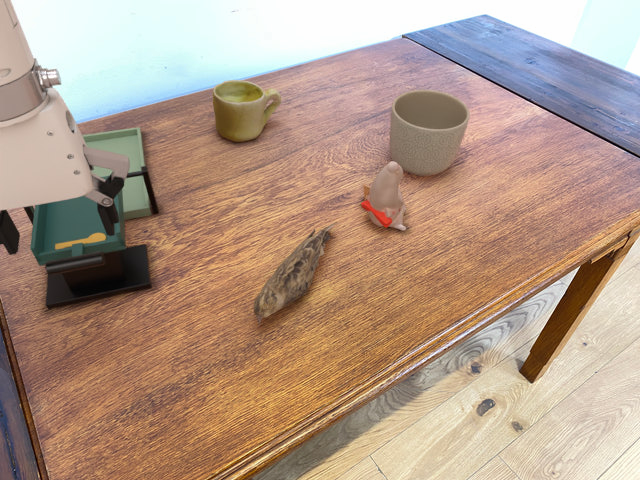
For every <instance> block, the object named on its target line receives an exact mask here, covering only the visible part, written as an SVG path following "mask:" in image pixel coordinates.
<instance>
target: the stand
mask: <svg viewBox="0 0 640 480" xmlns="http://www.w3.org/2000/svg"><path fill="white" fill-rule="evenodd" d="M137 176H143V179H144V182H145V186H146V189H147V193H148V196H149V200H150V206H151V212H152V213H153V214H152V215H158V214H159V212H160V211H159V206H158V203H157V198H156V195H155V192H154V187H153V184H152V181H151V177H150V172H149V170H148V166H147V165H146V166H142V167H141V171H137V172H131V173H128V174H127V177H126V178H131V177H137ZM22 208H23V210H24V212H25V214H26V216H27V217H28V219H29V221H30V224H31V225H32V226H33V219H34V211H35V206H34V205H33V206H27V207H22ZM104 256H105V265H100V266H95V267H90V268H85V269H80V270H75V271H70V272H65V273H60V274H55V275H48V274H47V280H46V281H47V282H46V292H45V293H46V295H45V307H46V309H47V310H53V309H57V308H62V307H66V306H67V307H68V306H72V305H76V304H81V303H85V302H92V301H96V300H100V299H105V298H109V297H113V296H115V297H116V296H119V295H124V294H128V293H133V292H138V291H143V290H147V289H151V288H152V278H151V269H150V267H151V266H150V260H149V249H148V245H147V243H141V244H137V245H131V246H128V247H127V246H126V249H124V250H118V251H113V252H108V253H104Z"/></svg>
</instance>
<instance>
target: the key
mask: <svg viewBox="0 0 640 480" xmlns="http://www.w3.org/2000/svg"><path fill="white" fill-rule="evenodd" d="M104 240H107V238H106V236H105V234H103V233H94V234H92V235H91V236H89V237H88V238H86V239H80V240H75V241H69V242H64V243H59V244H55V250H56V249H61V248H67V247H72V244H76V243H83V244H88V243H93V242H99V241H104Z"/></svg>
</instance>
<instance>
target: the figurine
mask: <svg viewBox="0 0 640 480" xmlns="http://www.w3.org/2000/svg"><path fill="white" fill-rule="evenodd" d="M403 176H404V170H403V169H402V167H401V166H400V165H398V163H397V162H395V161H394V160H392V161H391V160H390V161H389V162H388V163H387V164H385V165H384V166H383V167H382V168H381V169H380V171H378V173H377V175H376V176H375V177H374V179H373V180H372V183H371V185H367V184H366V183H364V184H362V185H363V196H364V200H363V201H362V202H360V206H361V208H362V209H364V210H365V211H366V212H368V218H369V219H370V221H371V222H372V223H373V224H374V225H376V226H378V227H380V228H381V227H382V228H383V227H384V228H385V229H387V228H388V227H390V228H395V229H397V230H400V231H406V230H407V227H406V226H404V215H405V212H406V210H407V206H406V205H407V204H406V203H405V201H404V196H403V192H402V190H401V189H400V183H401V181H402V178H403Z"/></svg>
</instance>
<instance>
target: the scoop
mask: <svg viewBox="0 0 640 480" xmlns="http://www.w3.org/2000/svg"><path fill="white" fill-rule="evenodd" d="M108 177H109V176H105V177H101V178H103V179H105V180H106V179H107V178H108ZM113 200H114V203H115V206H116V209H117V212H118V215H119V223H115V224H114V230H115V235H113V236H109V235H107V234H106V231H105V228H104V226H103V223H102V221H101V218H100V216H99V213H98V210H97V202H95V201H93V200H91V199H89V198H87V197H85V196H81V197H77V198H72V199H67V200H62V201H56V202H50V203H45V204H39V205H34V209H35V211H34V219H33V225H32V230H31V238H30V246H29V249H30V250H31V253H32V255H33V256H34V259H35V260H36V262H37V264H38V266H40V267H41V266H44V267H45V271H46V273H47V276H48V275H55V274H60V273H65V272H70V271H75V270H80V269H85V268H90V267H95V266H100V265H105V256H104V253H108V252H113V251H118V250H124V249H126V247H127V243H126V241H127V240H126V226H125V224H126V223H125V220H124V208H123V193H122V189H121V191H120V192H119V193H118V194H117V196H116V197H115V198H114V199H113ZM94 233H103V234H105V236H106V238H107V240H104V241H99V242H93V243H88V244H83V243H76V244H72V247H67V248H61V249H56V250H55V244H59V243H64V242H69V241H75V240H80V239H86V238H88V237H89V236H91V235H92V234H94Z"/></svg>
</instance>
